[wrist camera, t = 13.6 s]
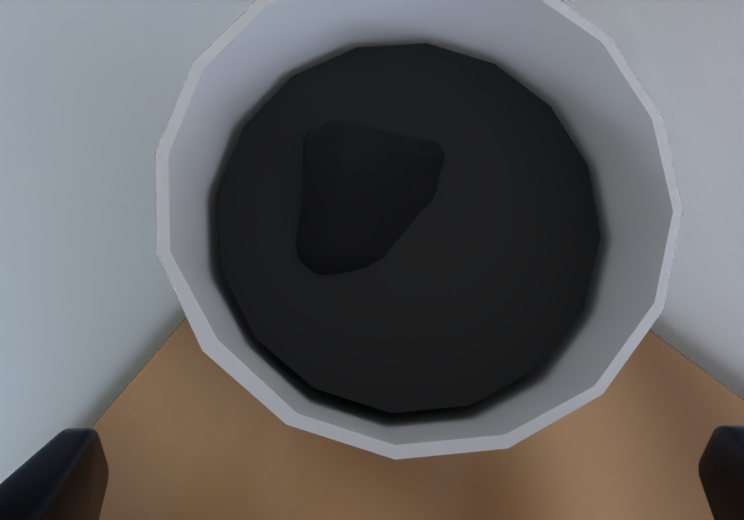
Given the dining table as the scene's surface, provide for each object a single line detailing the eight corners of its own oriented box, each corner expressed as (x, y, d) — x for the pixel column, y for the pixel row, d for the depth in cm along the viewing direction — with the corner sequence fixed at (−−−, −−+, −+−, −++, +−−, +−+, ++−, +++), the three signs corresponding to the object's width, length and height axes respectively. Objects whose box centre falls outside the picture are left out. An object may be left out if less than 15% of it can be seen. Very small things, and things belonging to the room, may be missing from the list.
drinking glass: (246, 406, 17) (101, 428, 7) (280, 177, 18) (200, -76, 8) (487, 432, 17) (685, 491, 7) (501, 203, 18) (681, -18, 8)
